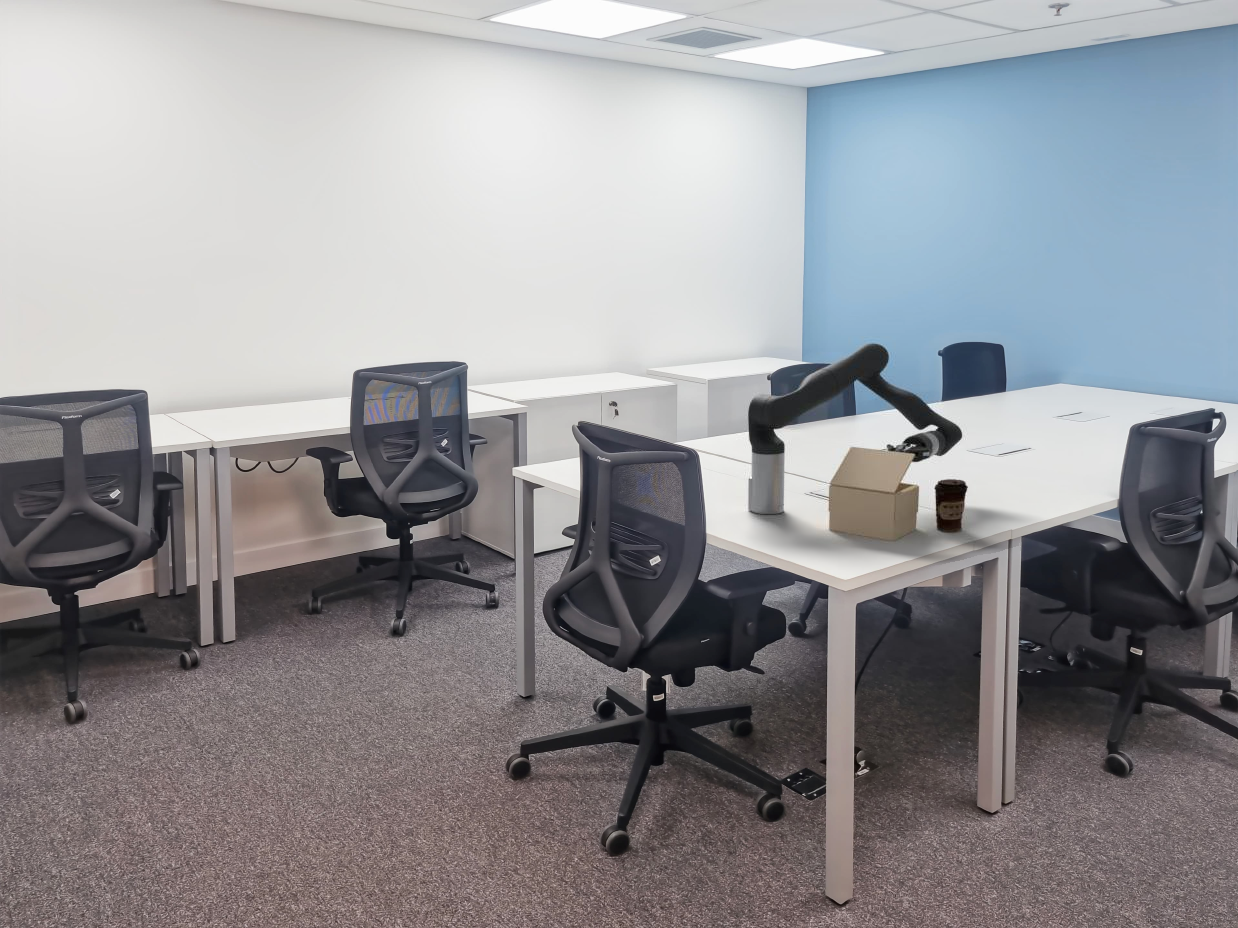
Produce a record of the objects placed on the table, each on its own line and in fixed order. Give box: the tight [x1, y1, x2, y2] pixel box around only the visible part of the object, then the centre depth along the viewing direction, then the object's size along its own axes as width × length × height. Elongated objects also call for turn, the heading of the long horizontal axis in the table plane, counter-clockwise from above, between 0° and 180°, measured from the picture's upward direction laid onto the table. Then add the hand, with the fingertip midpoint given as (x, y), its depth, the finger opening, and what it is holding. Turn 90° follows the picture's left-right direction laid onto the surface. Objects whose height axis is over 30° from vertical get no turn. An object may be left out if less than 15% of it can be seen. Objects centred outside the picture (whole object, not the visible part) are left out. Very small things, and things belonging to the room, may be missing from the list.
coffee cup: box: [934, 478, 969, 532], centre depth 264 cm, size 9×8×13 cm
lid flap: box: [829, 446, 915, 494], centre depth 262 cm, size 18×14×1 cm
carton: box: [828, 482, 920, 542], centre depth 265 cm, size 19×14×12 cm
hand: (893, 456), depth 271 cm, fingers closed
